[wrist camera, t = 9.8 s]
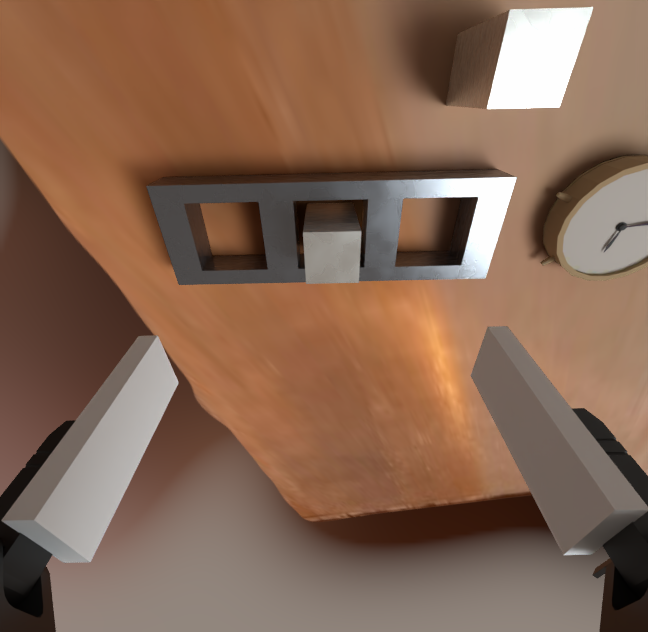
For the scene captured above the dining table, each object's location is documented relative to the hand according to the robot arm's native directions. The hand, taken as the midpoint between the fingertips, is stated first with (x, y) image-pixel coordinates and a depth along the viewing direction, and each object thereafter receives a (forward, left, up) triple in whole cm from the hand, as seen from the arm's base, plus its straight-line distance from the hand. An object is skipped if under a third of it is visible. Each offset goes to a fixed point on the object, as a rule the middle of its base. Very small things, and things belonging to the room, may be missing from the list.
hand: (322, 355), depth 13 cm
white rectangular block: (-10, +13, -22) cm, 27 cm away
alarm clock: (+1, +30, -22) cm, 37 cm away
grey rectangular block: (+2, +1, -22) cm, 22 cm away
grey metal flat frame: (+2, +1, -22) cm, 22 cm away
